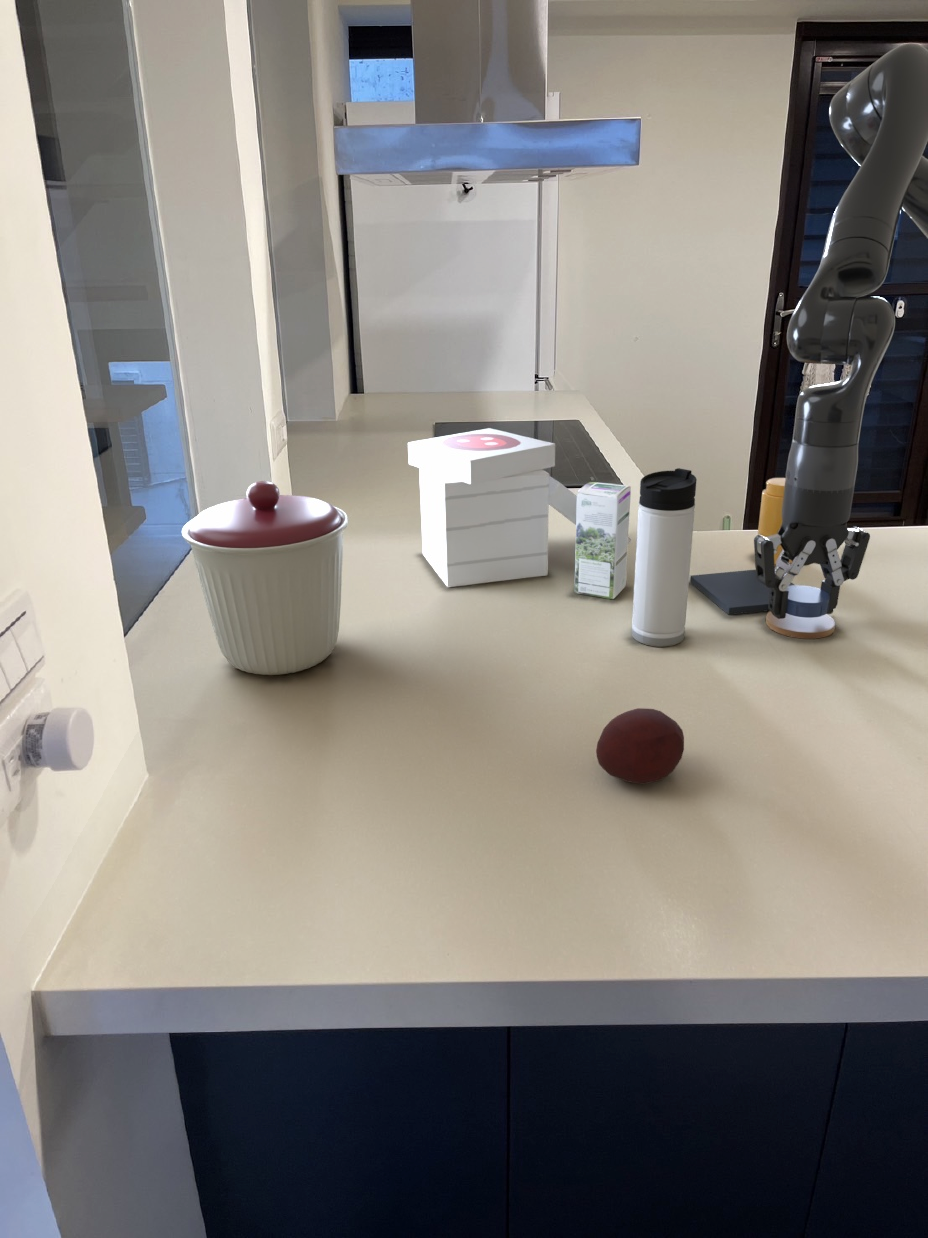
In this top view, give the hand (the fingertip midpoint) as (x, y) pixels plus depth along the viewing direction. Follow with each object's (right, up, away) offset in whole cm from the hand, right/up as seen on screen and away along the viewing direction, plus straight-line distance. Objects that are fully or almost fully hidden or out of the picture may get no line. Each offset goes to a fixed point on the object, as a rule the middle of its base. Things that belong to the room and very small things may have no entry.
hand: (801, 613), depth 111 cm
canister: (-63, -5, -4) cm, 63 cm away
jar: (+5, +8, +23) cm, 25 cm away
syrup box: (-23, +3, +13) cm, 26 cm away
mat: (-3, +3, +10) cm, 11 cm away
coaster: (0, -1, +1) cm, 2 cm away
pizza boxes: (-33, +8, +25) cm, 43 cm away
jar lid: (0, +2, -1) cm, 2 cm away
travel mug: (-18, -3, -1) cm, 18 cm away
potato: (-25, -15, -29) cm, 41 cm away
